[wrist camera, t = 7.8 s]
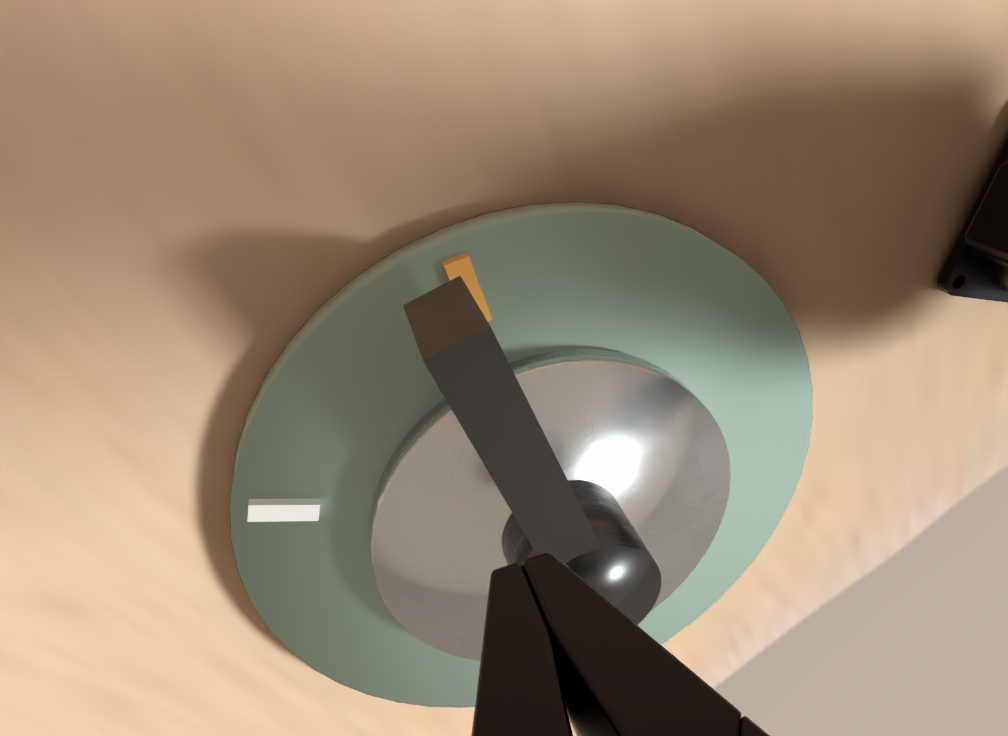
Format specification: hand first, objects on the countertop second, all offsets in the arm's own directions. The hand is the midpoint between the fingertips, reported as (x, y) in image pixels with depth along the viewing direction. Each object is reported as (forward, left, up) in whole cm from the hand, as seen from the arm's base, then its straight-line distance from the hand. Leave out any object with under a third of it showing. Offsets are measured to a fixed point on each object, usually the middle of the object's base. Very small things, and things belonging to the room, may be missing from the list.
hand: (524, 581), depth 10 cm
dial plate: (-6, +7, -12) cm, 15 cm away
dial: (-5, +6, -10) cm, 13 cm away
